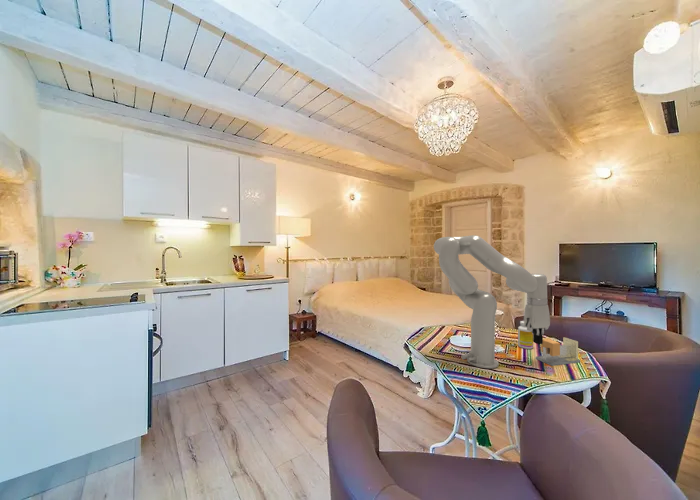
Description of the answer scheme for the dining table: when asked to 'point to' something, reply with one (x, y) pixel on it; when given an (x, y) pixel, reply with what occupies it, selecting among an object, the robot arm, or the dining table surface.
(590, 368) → the dining table surface
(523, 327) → the supplement bottle
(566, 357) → the flange rail
